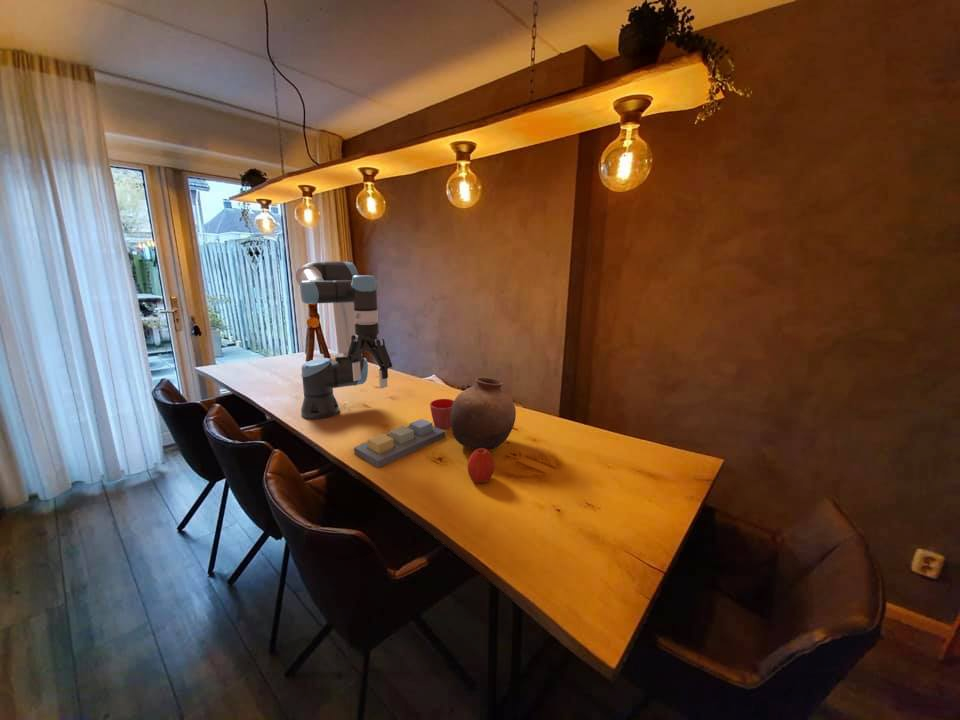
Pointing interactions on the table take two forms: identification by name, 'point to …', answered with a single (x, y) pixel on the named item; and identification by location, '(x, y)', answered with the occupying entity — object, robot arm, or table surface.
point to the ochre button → (380, 444)
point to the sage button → (402, 435)
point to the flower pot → (441, 412)
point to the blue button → (421, 427)
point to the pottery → (482, 415)
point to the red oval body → (480, 466)
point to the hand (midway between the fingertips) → (370, 383)
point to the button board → (399, 448)
